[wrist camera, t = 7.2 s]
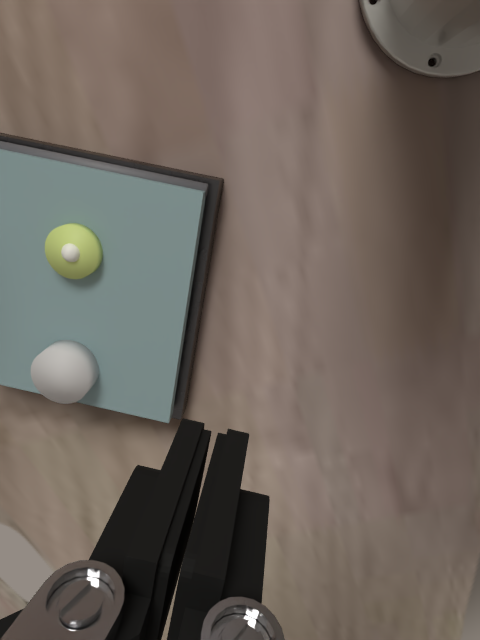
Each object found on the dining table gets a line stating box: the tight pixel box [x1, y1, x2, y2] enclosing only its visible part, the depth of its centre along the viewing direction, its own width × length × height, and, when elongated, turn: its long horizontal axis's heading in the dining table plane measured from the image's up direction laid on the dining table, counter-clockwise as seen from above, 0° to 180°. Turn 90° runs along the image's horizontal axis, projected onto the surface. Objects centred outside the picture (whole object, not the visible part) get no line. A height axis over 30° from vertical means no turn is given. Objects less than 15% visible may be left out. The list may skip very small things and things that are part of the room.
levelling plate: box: [0, 141, 208, 423], centre depth 35 cm, size 20×18×4 cm
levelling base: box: [0, 133, 224, 420], centre depth 38 cm, size 21×19×2 cm
